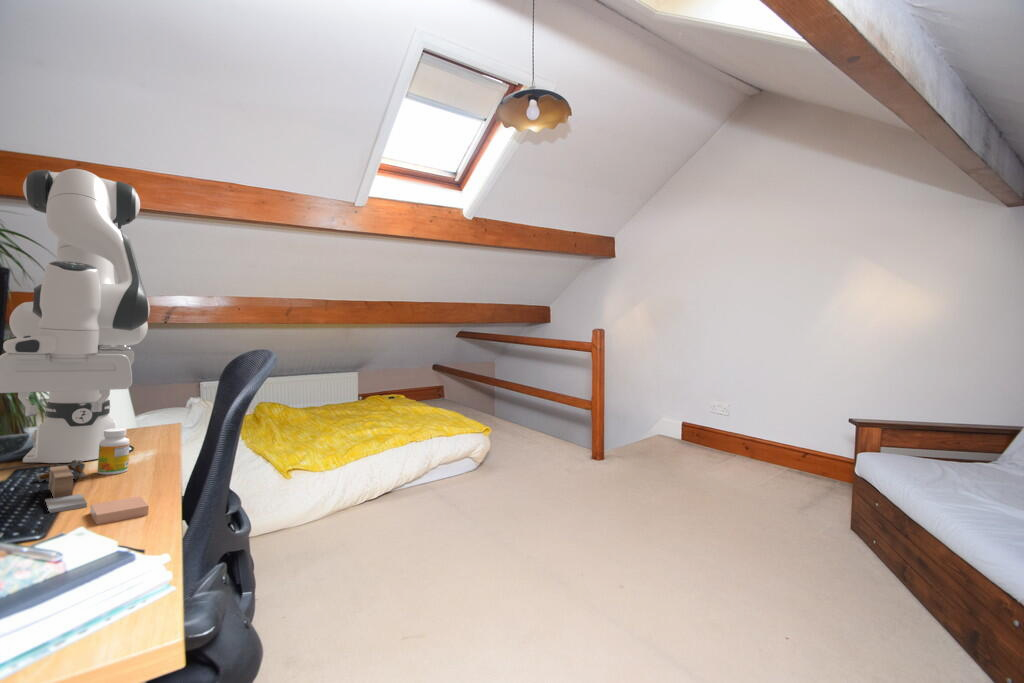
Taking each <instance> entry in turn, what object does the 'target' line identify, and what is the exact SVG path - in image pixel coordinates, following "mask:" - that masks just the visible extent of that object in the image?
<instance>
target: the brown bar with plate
mask: <svg viewBox="0 0 1024 683" xmlns="http://www.w3.org/2000/svg"><path fill="white" fill-rule="evenodd" d="M48 473H49V478H48V490H49V489H50V491H51V493H52V496H53V498H52V496H51V497H50V498H45V499H44V503H45V502H46V505H47V508H48V510H47V512H48V511H49V512H50V513H49V514H55V513H60V512H67V511H70V510H71V511H72V510H77V509H83V508H87V507H88V502H87V500H86V498H85V497H84V496H83V495H82V493H78V494H73V490H74V480H73V477H74V476H73V475H74V474H73V473H72V470H71V469H69V468H68V464H67V465H66V464H65V465H56V466H50V467H49V472H48ZM46 505H45V506H46ZM47 508H46V509H47Z"/></svg>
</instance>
